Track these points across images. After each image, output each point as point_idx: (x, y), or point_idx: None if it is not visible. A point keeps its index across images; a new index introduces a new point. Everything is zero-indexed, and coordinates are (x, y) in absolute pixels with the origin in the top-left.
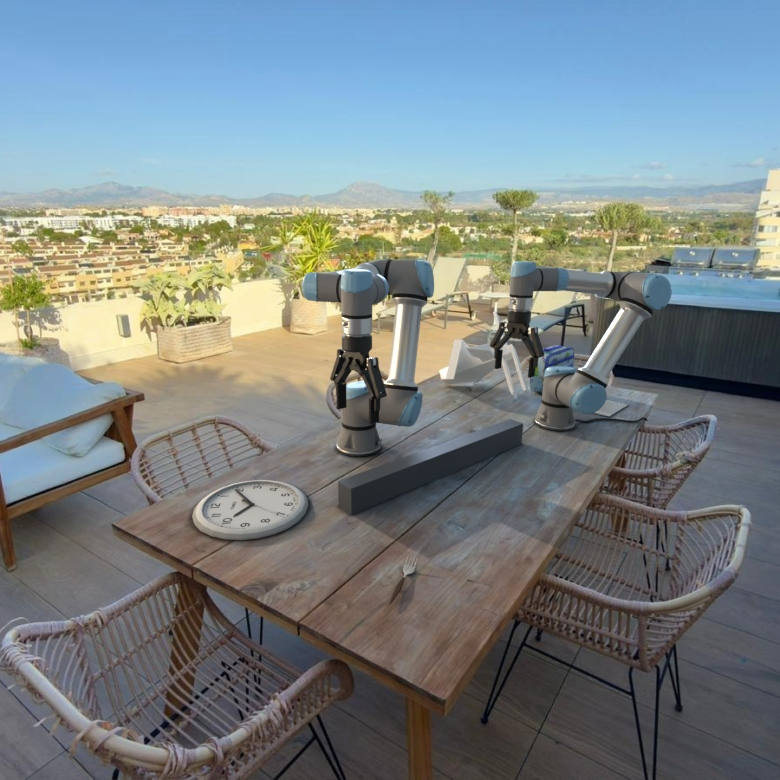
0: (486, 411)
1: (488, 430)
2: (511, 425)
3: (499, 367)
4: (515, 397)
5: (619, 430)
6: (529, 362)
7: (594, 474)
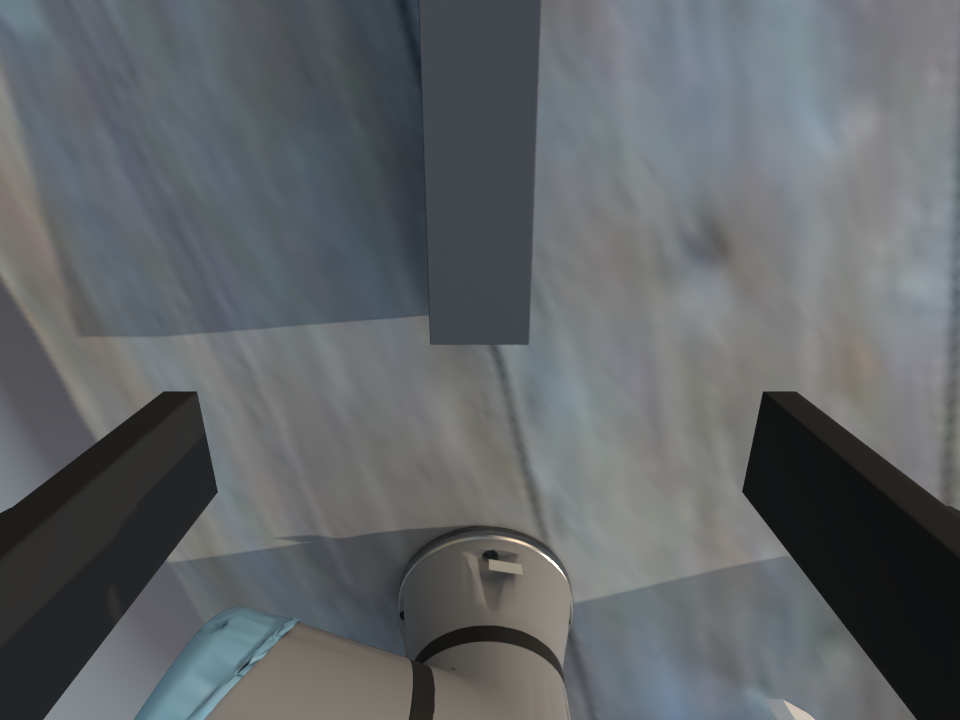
0: None
1: (493, 53)
2: (453, 259)
3: (756, 462)
4: (772, 705)
5: None
6: (15, 540)
7: (26, 275)
